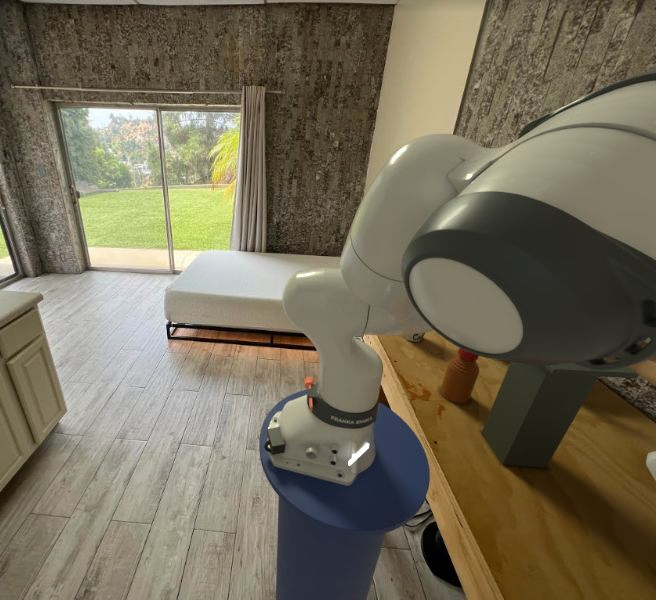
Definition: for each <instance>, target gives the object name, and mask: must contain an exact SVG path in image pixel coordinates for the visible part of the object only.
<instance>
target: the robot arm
mask: <svg viewBox="0 0 656 600" xmlns="http://www.w3.org/2000/svg"><path fill="white" fill-rule="evenodd" d="M281 304H282V305H281V306H282V309H283V313H284V316H285V317H286V319H287V320H288V322H289V323H290V324H291V325H292V326H293V327H294V328H296V329H297V330H298V331H300V332H301V333H302V334H304V335H305V336H306V337H307V338H308V339H309V341H310V342H311V343H312V345H313V346H314V348H315V350H316V352H317V355H318V365H319V366H318V367H319V369H318V381H317V382H316V383H315V379H314V378H313V377H312V376H306V377H305V378H304V388H305V390H307V389H308V391H307V395H304V396H302V397H299V398H297V399H294V400H291V401H289V402H287V403H286V404H285V406H284V407H283V409H282V411H280V412H277V413H276V414H275V415H274V416H273V418H272V419H271V421H270V424H269V428H268V429H267V442H266V443H265V445H264V448H265V450H266V451H268V455H269V458H270V460H271V462H272V464H273V465H274V466H275V467H278V468H282V469H285V470H289V471H293V472H296V473H300V474H304V475H308V476H311V477H315V478H319V479H323V480H326V481H330V482H334V483H338V484H341V485H345V486H349V485H351V484H352V483H353V482H354V480H355V479H356V477H357V475H358V474H359V473H361V472H363V471H364V470H366V469H367V468H368V467H370V466H371V464H372V463H373V461H374V459H375V455H376V449H375V444H374V422H375V421H376V418H377V415H378V411H379V402H380V401H381V400H380V399H381V398H380V396H379V395H380V391H381V390H380V389H381V385H382V380H383V375H384V364H383V361H382V358H381V356H380V354H379V353H378V352H377V351H376V350H375V349H374V348H373V347H372V346H370V345H369V344H367V343H365V342H364V341H362V340H360V339H358V338H356V336H361V335H363V336H386V337H387V336H388V337H390V336H391V337H405V336H404V335H413V334H419V333H425V332H426V333H430V332H432V331H434V332H435V333H437V334H438V335H439V336H441V337H442V338H443V339H445V340H446V341H448V342H449V343H451V344H452V345H453V346H455V347H458V348H461V349H463V350H465V351H468V352H470V353H473V354H475V355H478V356H479V357H483V358H486V359H492V360H497V361H505V362H509V363H511V362H517V363H523V364H530V365H544V366H547V365H559V364H566V363H574V364H577V365H579V366H582V367H586V368H589V369H595V370H610V369H618V368H623V367H627V366H630V365H634V364H638V363H641V362H644V361H647V360H649V359H652V358H654V357H656V68H654V69H650V70H647V71H643V72H640V73H638V74H635V75H632V76H629V77H626V78H624V79H621V80H619V81H616V82H613V83H612V84H608V85H606V86H604V87H600V88H599V89H597V90H595V91H594V90H593V91H592V92H590V93H588V94H586V95H584V96H581V97H580V98H578V99H576V100H574V101H572V102H570V103H568V104H566V105H564V106H561V107H560V108H557V109H555V110H553V111H551V112H549V113H546V114H544V115H542V116H540V117H538V118H536V119H534V120H531V121H530V122H528V123H527V124H526V125H524V127H522V129H521V131H520V133H519V135H518V137H517V139H516V140H514V141H512V142H510V143H508V144H506V145H503V146H500V147H499V146H498V147H486V146H482V145H480V144H479V143H476V142H475V141H473V140H471V139H469V138H467V137H464V136H461V135H458V134H453V133H442V132H441V133H438V132H437V133H430V134H425V135H421V136H418V137H416V138H413V139H411V140H409V141H407V142H405V143H404V144H402V145H401V146H400V147H398V148H397V149H396V150H395V151H393V153H392V154H391V155H390V156H389V157H388V158H387V160H386V161H385V162H384V164H383V165H382V166H381V168H380V169H379V171H378V172H377V174H376V175H375V177H374V178H373V180H372V182H371V183H370V185H369V186H368V188H367V190H366V191H365V194H364V195H363V197H362V199H361V202H360V204H359V205H358V208H357V209H356V212H355V215H354V218H353V219H352V223H351V226H350V228H349V231H348V233H347V237H346V240H345V242H344V245H343V248H342V250H341V254H340V260H339V267H336V266H335V267H333V266H330V267H329V266H321V267H315V268H309V269H304V270H298V271H295V272H294V273H292V275H290V277H289V279H288V280H287V281H286V283H285V285H284V288H283V291H282V296H281ZM426 333H425V334H426ZM643 342H646V343H648V344H647V345H646V346H645V347H644V348H643V349H642V348H641V347H640V344H641V343H643ZM610 356H612V357H617V358H619V359H620V360H612V361H606V360H604V359H602V358H605V357H610ZM380 403H381V402H380ZM645 465H646V467H647V469H648V472H649V473H650V474H651V476H652V478H653V479H654V481H655V482H656V450H655V451H651V452H648V453H647V456H646V460H645ZM338 476H341V477H338Z"/></svg>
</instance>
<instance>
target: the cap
mask: <svg viewBox="0 0 656 600" xmlns="http://www.w3.org/2000/svg"><path fill="white" fill-rule="evenodd" d="M458 348H459V347H458ZM457 356H460V357H461V358H463V359H465V360H469V361H476V362H477V360H478V359H479V357H480V356H478V355H475V354H473V353H470V352H468V351H465V350H463V349H461V348H459V349H458V352H457Z"/></svg>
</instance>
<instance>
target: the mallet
mask: <svg viewBox="0 0 656 600" xmlns="http://www.w3.org/2000/svg"><path fill="white" fill-rule="evenodd" d="M647 344H648V343H646V342H643V343H641V344H640V347H641V348H642V349H643V348H644V347H645V346H646V345H647ZM604 359H606V360H607V361H612V360H620V359H619V358H617V357H612V356H610V357H605V358H604ZM627 368H629V369H631V370H632V371H634V372H635V373H637V374H638V376H640V377H641V378H643V379H644V380H646V381H647V382H649V383H651V384H652V385H653V386H655V387H656V357H654V358H652V359H649V360H647V361H644V362H641V363H638V364H634V365H630V366H627Z"/></svg>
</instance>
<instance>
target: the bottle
mask: <svg viewBox="0 0 656 600" xmlns="http://www.w3.org/2000/svg"><path fill="white" fill-rule="evenodd" d="M479 374H480V366H479V364H478V362H477V360H476V361H469V360H465V359H463V358H461V357H460V356H459V355H456V356H454V357H452V358H451V359H450V360H449V362H448V365H447V367H446V370H445V374H444V376H443V381H442V384H441V387H440V389H439V390H440V394H441V395H442V397H443V398H445V399H446V400H448V401H450V402H452V403H455V404H460V405H463V404H467V403H468V402H469V401H470V399H471V397H472V393H473V391H474V388H475V385H476V382H477V379H478V377H479Z"/></svg>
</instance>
